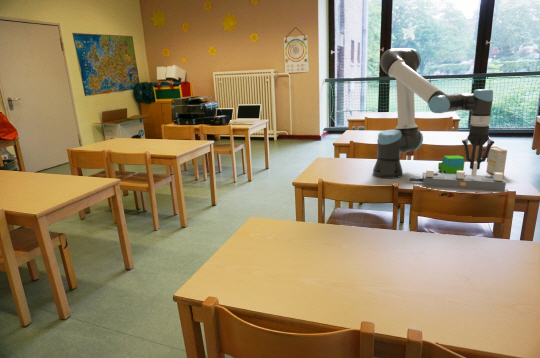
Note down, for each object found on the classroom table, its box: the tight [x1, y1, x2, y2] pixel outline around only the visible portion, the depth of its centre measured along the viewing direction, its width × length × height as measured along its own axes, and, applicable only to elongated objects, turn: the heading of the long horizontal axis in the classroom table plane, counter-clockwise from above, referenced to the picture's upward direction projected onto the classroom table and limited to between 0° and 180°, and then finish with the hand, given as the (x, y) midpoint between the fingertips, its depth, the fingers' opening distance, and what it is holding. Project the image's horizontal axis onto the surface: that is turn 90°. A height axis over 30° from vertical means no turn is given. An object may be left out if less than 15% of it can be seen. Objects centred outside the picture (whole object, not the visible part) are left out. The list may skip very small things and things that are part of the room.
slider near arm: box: [425, 168, 435, 177], centre depth 175 cm, size 3×3×3 cm
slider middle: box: [456, 171, 466, 179], centre depth 171 cm, size 3×3×3 cm
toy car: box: [437, 155, 466, 174], centre depth 192 cm, size 10×13×10 cm
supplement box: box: [486, 146, 508, 176], centre depth 189 cm, size 8×5×13 cm, turn 179°
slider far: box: [492, 172, 504, 181], centre depth 166 cm, size 3×3×3 cm
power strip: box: [409, 172, 507, 192], centre depth 174 cm, size 40×10×4 cm, turn 70°
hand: (473, 175), depth 169 cm, fingers closed
